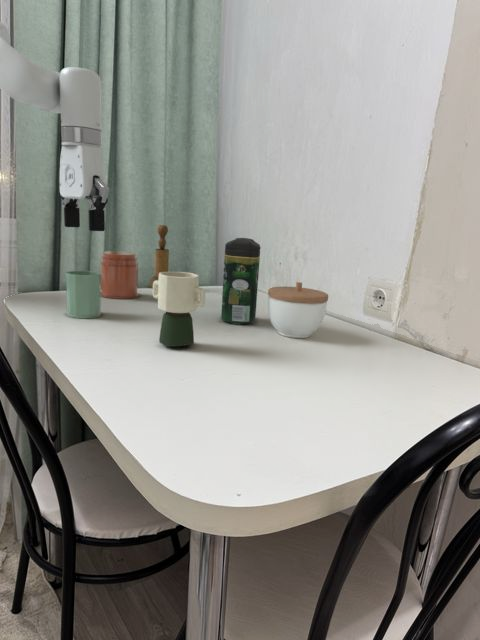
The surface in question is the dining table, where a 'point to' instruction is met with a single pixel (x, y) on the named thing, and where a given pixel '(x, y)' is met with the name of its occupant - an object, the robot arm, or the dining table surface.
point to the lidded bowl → (296, 310)
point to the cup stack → (119, 275)
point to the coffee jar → (240, 281)
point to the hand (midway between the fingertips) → (84, 228)
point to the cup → (83, 294)
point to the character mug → (178, 306)
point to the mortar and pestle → (161, 255)
